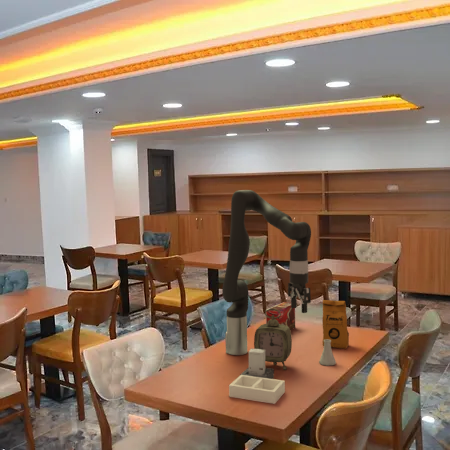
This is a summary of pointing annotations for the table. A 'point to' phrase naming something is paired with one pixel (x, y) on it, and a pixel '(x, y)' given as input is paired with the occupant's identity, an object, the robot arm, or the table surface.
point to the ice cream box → (283, 314)
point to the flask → (327, 354)
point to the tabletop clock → (274, 340)
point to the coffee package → (335, 323)
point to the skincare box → (257, 362)
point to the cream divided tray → (257, 389)
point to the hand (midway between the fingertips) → (299, 310)
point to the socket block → (268, 374)
